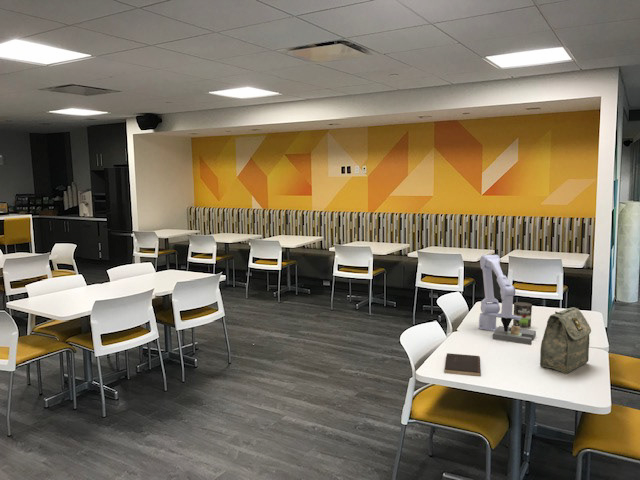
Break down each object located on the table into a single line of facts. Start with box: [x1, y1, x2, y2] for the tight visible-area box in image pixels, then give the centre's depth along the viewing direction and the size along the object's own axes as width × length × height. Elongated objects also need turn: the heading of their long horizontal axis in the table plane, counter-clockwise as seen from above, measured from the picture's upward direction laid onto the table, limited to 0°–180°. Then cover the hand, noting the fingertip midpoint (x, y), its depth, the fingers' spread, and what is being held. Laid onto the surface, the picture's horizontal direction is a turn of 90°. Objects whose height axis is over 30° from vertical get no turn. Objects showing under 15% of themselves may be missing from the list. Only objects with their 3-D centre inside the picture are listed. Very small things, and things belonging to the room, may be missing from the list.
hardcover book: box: [444, 352, 482, 377], centre depth 252 cm, size 16×23×2 cm
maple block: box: [511, 325, 520, 335], centre depth 292 cm, size 4×4×4 cm
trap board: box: [492, 325, 537, 346], centre depth 296 cm, size 20×18×3 cm
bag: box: [539, 306, 592, 375], centre depth 251 cm, size 22×16×27 cm
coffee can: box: [512, 301, 533, 330], centre depth 317 cm, size 10×10×14 cm
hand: (506, 331), depth 295 cm, fingers closed
